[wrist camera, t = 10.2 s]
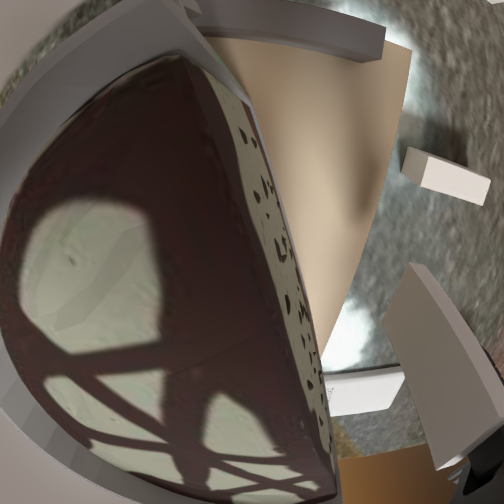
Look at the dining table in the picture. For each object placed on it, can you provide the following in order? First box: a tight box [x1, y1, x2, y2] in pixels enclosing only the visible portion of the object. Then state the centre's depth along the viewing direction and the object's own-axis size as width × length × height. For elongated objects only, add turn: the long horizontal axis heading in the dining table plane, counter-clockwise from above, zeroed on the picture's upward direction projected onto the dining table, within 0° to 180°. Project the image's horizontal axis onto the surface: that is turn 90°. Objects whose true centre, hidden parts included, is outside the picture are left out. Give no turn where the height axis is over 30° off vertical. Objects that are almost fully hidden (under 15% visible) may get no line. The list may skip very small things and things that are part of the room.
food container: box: [0, 0, 343, 504], centre depth 8 cm, size 12×6×10 cm, turn 17°
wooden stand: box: [190, 0, 412, 358], centre depth 15 cm, size 12×18×10 cm, turn 172°
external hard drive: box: [323, 366, 405, 416], centre depth 31 cm, size 2×8×12 cm
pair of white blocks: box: [401, 0, 504, 206], centre depth 13 cm, size 6×19×3 cm, turn 172°
